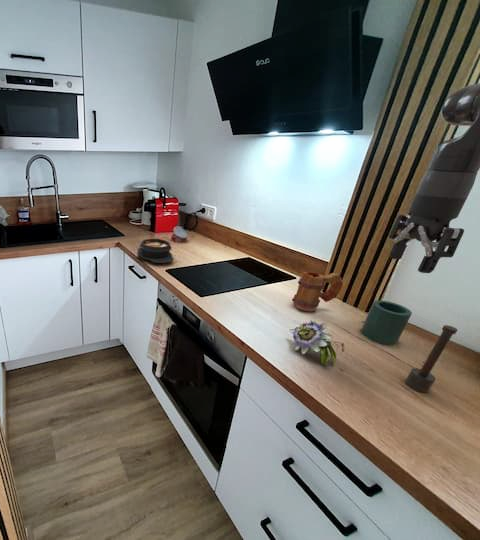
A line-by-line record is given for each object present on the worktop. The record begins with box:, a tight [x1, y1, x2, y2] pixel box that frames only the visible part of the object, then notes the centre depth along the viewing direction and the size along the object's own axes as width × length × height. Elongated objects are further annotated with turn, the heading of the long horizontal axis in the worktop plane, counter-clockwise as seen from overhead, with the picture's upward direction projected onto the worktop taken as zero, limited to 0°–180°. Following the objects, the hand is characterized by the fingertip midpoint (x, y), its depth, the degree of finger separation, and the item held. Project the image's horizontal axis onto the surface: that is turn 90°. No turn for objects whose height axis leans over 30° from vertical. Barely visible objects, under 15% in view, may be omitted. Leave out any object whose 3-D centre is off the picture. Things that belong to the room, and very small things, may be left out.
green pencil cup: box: [360, 299, 413, 346], centre depth 91 cm, size 9×9×11 cm
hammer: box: [404, 324, 458, 394], centre depth 70 cm, size 4×4×18 cm
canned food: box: [170, 225, 188, 244], centre depth 183 cm, size 11×10×10 cm
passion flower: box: [289, 320, 346, 366], centre depth 83 cm, size 11×11×12 cm
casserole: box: [137, 238, 174, 264], centre depth 152 cm, size 25×19×8 cm
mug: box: [291, 270, 344, 312], centre depth 105 cm, size 15×8×15 cm, turn 80°
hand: (408, 265), depth 66 cm, fingers open, 8 cm apart
